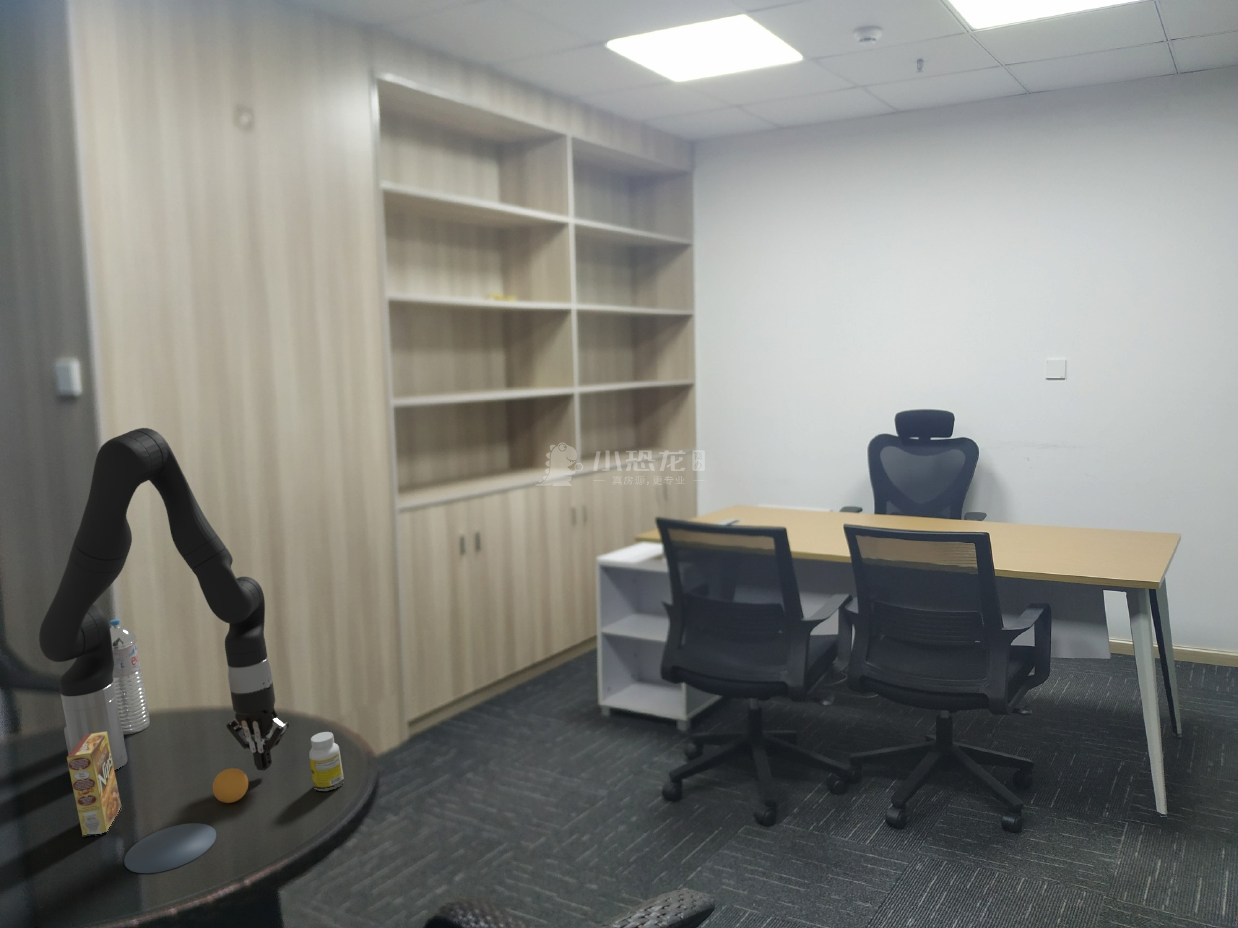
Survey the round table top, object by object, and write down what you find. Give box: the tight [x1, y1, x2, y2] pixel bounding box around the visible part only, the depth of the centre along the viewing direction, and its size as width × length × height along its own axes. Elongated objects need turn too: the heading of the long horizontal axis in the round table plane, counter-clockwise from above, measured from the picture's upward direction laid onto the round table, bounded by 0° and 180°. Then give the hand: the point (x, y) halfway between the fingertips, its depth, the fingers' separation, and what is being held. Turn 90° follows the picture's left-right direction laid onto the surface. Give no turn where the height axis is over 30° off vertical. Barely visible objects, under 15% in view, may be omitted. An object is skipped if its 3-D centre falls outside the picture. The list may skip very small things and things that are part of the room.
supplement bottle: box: [308, 731, 345, 789], centre depth 170 cm, size 5×5×10 cm
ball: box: [212, 767, 249, 804], centre depth 168 cm, size 6×6×6 cm
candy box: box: [66, 732, 122, 836], centre depth 163 cm, size 9×4×15 cm, turn 13°
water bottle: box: [109, 618, 151, 736], centre depth 201 cm, size 7×7×25 cm
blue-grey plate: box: [123, 822, 217, 874], centre depth 154 cm, size 14×14×1 cm
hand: (264, 768), depth 177 cm, fingers closed
